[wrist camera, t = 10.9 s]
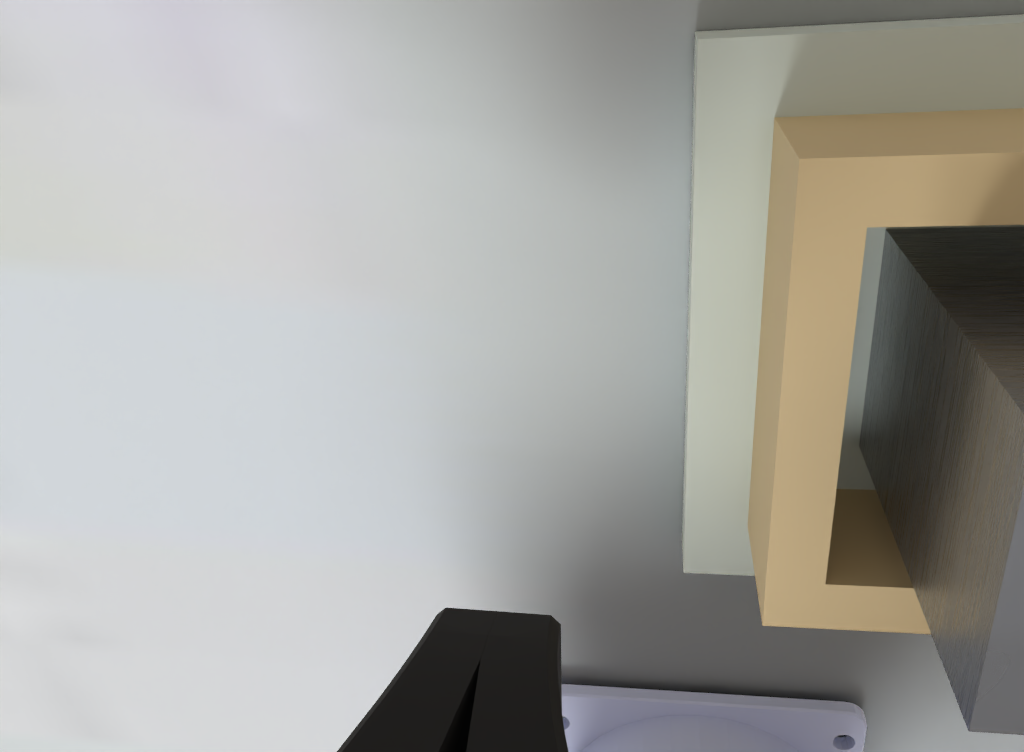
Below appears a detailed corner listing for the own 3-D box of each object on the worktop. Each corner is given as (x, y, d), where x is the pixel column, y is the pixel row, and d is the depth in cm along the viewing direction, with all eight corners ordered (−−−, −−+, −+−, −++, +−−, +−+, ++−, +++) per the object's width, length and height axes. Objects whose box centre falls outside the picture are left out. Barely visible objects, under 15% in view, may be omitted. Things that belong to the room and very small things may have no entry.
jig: (1211, 558, 19) (1348, 714, 15) (681, 539, 20) (687, 674, 17) (1412, -6, 14) (1687, 19, 10) (694, 31, 16) (706, 64, 12)
